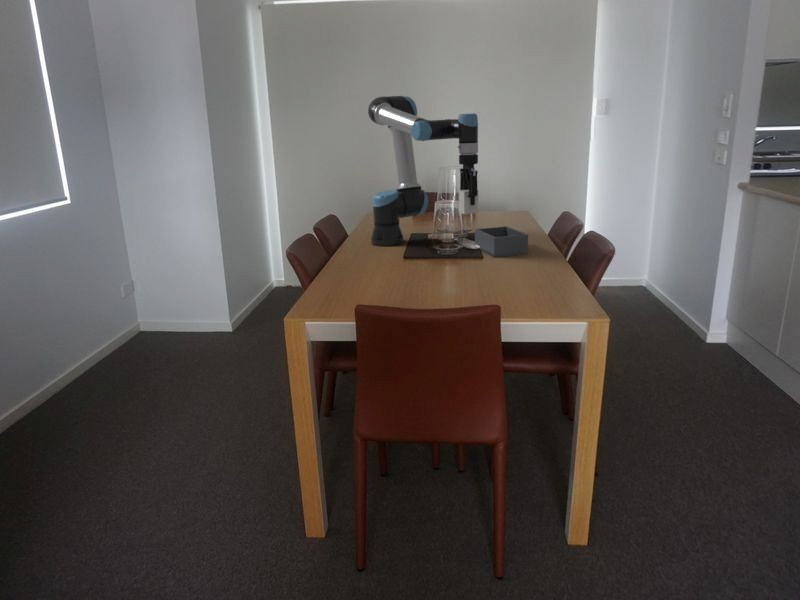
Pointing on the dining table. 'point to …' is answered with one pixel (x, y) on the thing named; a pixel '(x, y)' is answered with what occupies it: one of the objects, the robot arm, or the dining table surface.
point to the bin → (501, 241)
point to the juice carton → (466, 202)
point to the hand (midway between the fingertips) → (468, 211)
